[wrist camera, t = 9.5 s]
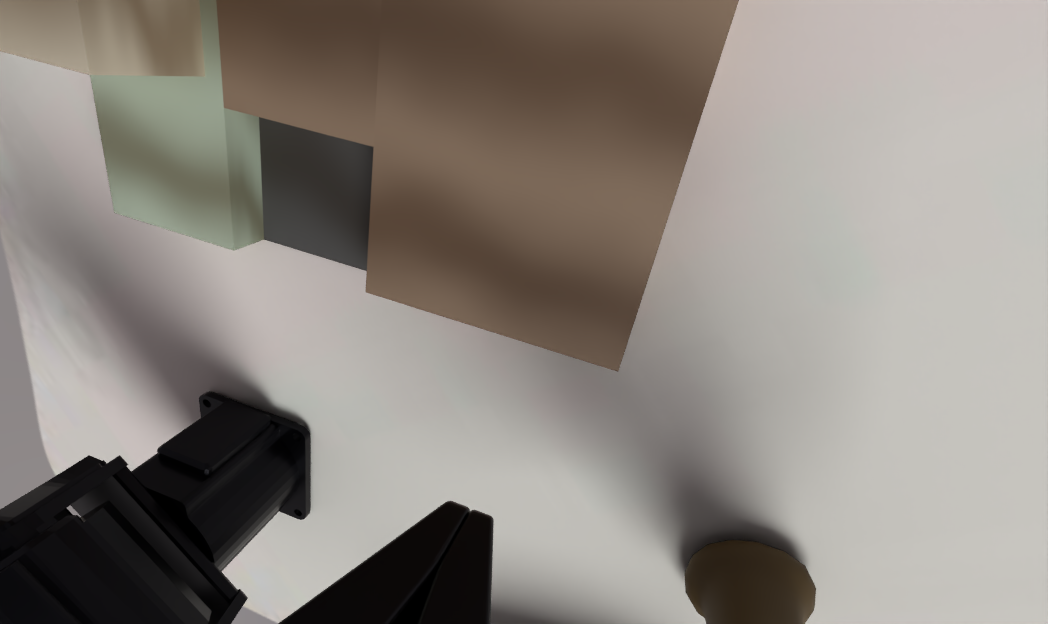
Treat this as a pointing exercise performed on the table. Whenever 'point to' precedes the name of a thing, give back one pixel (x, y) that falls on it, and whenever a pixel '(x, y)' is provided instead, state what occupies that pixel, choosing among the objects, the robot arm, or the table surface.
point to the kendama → (749, 585)
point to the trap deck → (434, 148)
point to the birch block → (106, 35)
